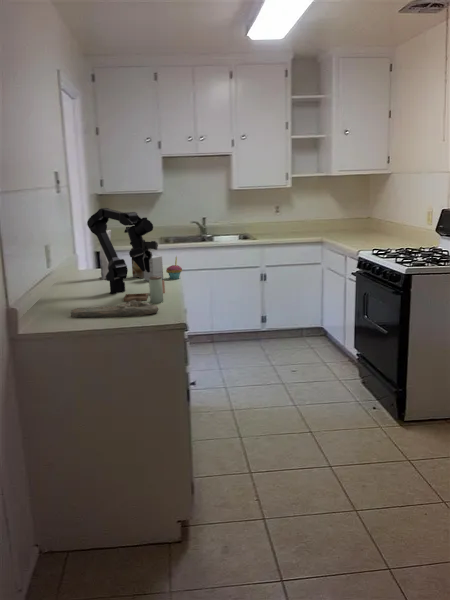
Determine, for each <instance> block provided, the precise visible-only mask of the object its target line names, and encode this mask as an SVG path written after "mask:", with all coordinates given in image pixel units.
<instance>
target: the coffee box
mask: <svg viewBox="0 0 450 600" xmlns="http://www.w3.org/2000/svg"><path fill="white" fill-rule="evenodd" d="M130 250H133V248H130ZM148 251H150V252H151V249H148ZM133 257H134V256H133ZM131 270H132V278H136V277H139V278H138V279H145V277H144V272H143V271H142V270H141V269H140V268H139V266H138V265H137V264H136V263H135V262H134V260H133V259H132V258H131Z"/></svg>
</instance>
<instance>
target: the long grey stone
mask: <svg viewBox="0 0 450 600" xmlns="http://www.w3.org/2000/svg"><path fill="white" fill-rule="evenodd" d="M158 311H159V307H158V305H155V304H152V303H151V304H150V303H149V302H147V301H146V302H145V301H136V300H132V301H129V302H125V303H121V304H119V305H114V306H109V305H108V306H96V307H90V306H89V307H77V308H75V309H72V310H71V312H70V316H71V318H74V319H75V318H114V317H132V316H133V317H134V316H136V317H137V316H138V317H141V315H143V316H144V315H151V314H156V313H158ZM139 315H140V316H139Z"/></svg>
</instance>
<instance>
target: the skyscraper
mask: <svg viewBox="0 0 450 600" xmlns="http://www.w3.org/2000/svg"><path fill="white" fill-rule="evenodd" d="M106 232H107V234H108V236H109V239H110V241H111V240H112V230H111V229H107V230H106ZM99 244H100V243H99ZM99 255H100V256H99V257H100V276H101V277H99V278H98V279H99V280H101V281H107V280H106V277H105V276H106V275H107V273H108V271H109V270H108V263H109V262H108V260H107V257H106V255H105V253H104V251H103V249H102V246H101V244H100V245H99Z"/></svg>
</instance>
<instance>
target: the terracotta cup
mask: <svg viewBox="0 0 450 600" xmlns="http://www.w3.org/2000/svg"><path fill="white" fill-rule="evenodd" d="M165 285H166V284H165V280H164V279H162V288H163V294H165V293H166V286H165Z"/></svg>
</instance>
